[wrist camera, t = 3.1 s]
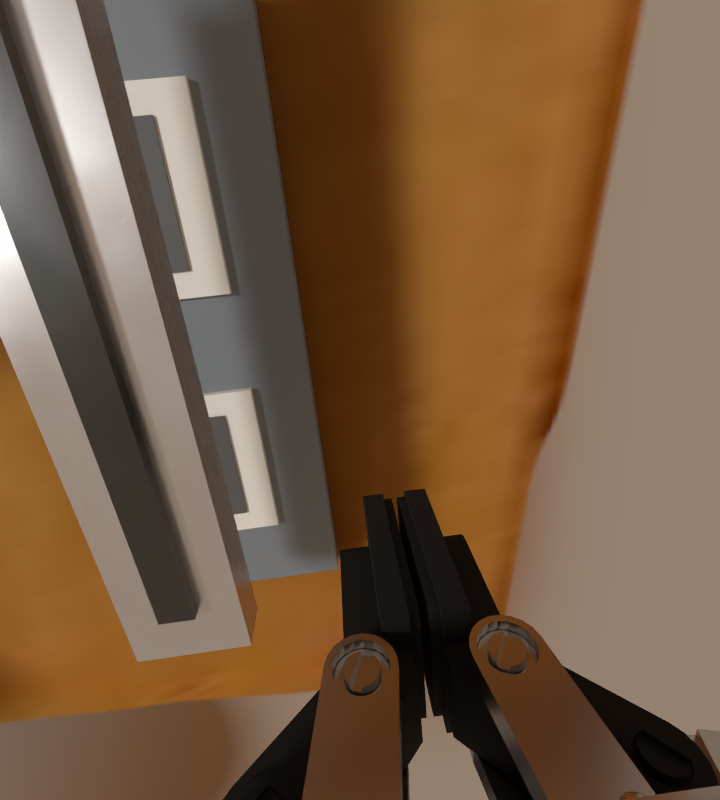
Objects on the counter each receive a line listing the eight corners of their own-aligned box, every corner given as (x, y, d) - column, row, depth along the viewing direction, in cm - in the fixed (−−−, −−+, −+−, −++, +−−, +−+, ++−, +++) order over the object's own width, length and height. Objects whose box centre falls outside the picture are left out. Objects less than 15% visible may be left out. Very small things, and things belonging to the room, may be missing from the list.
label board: (-108, -153, 13) (-440, -451, 7) (229, -175, 13) (162, -471, 8) (154, 574, 23) (102, 682, 18) (336, 549, 24) (341, 646, 18)
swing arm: (-290, -537, 7) (-565, -883, 5) (-35, -544, 7) (-188, -879, 5) (154, 623, 17) (129, 681, 14) (257, 608, 17) (248, 663, 15)
